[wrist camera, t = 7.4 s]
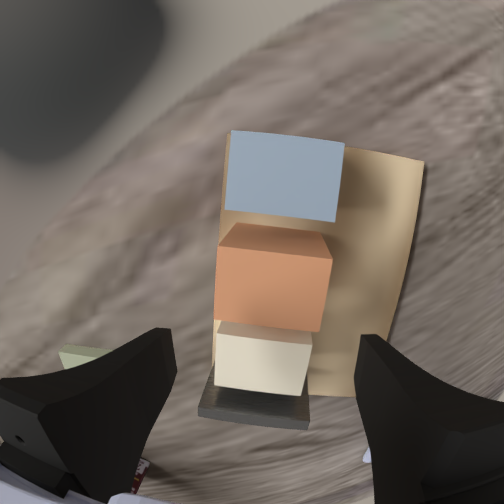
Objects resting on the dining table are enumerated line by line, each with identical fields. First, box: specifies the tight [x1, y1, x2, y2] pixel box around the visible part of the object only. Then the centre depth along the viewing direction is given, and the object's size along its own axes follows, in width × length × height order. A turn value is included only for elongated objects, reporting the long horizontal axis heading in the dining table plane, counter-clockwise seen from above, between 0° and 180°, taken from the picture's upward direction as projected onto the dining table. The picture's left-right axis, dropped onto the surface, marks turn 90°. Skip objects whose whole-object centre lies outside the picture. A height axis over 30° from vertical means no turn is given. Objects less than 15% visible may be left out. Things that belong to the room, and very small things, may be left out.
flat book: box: [58, 344, 113, 369], centre depth 24 cm, size 6×4×2 cm
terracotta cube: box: [214, 222, 333, 332], centre depth 17 cm, size 5×4×6 cm
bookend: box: [198, 361, 310, 430], centre depth 19 cm, size 6×2×6 cm, turn 85°
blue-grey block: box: [224, 130, 345, 222], centre depth 16 cm, size 5×4×4 cm
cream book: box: [214, 321, 313, 396], centre depth 19 cm, size 5×4×4 cm
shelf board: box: [212, 133, 424, 397], centre depth 20 cm, size 12×18×1 cm
